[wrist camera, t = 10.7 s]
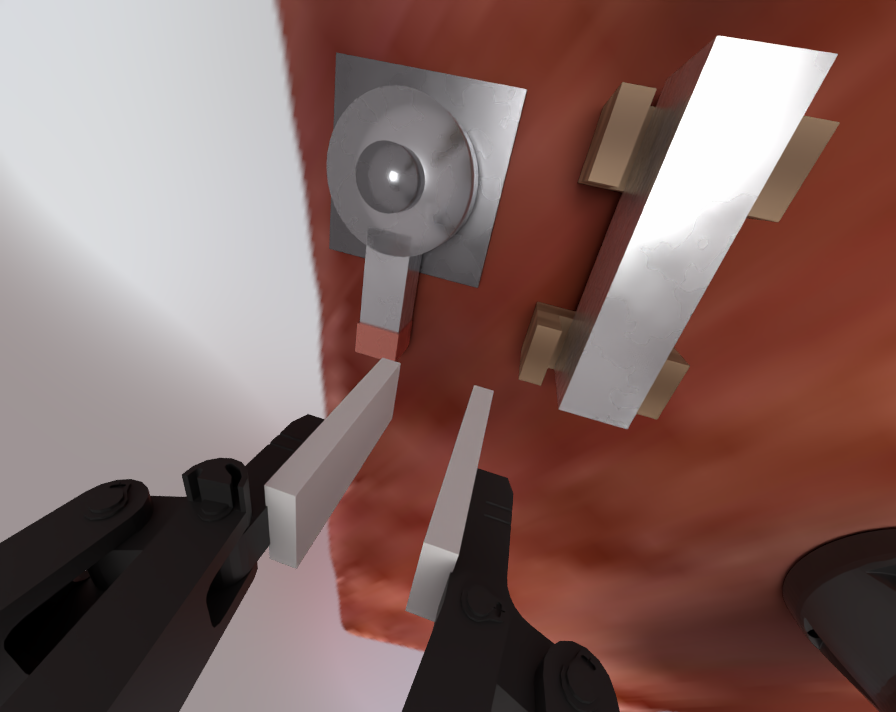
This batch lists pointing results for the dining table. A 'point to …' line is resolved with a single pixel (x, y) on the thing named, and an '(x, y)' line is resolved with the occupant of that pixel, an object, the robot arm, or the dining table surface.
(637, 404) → the steel bar
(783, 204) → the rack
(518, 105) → the base
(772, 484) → the dining table surface
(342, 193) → the silver lever handle
